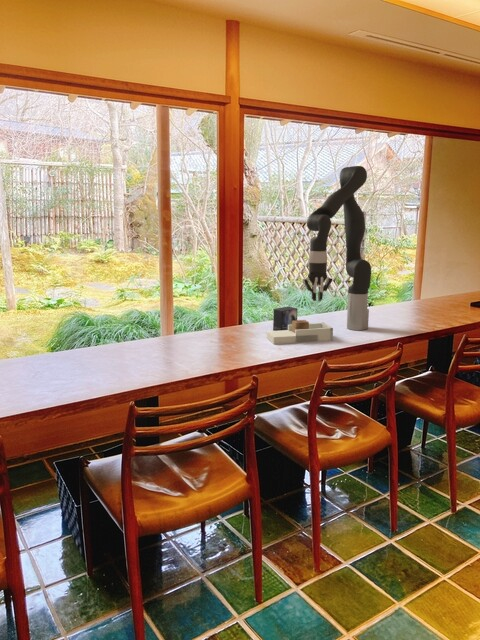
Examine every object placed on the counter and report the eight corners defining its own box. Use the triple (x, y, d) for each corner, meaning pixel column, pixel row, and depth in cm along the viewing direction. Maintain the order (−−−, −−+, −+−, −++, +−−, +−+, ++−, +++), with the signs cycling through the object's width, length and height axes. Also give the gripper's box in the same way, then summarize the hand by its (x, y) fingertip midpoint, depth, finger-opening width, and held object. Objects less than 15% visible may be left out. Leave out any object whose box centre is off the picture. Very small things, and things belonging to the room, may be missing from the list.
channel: (323, 334, 246) (323, 322, 245) (332, 340, 236) (332, 328, 234) (266, 337, 241) (266, 325, 240) (273, 344, 230) (273, 331, 229)
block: (304, 330, 241) (305, 319, 240) (308, 333, 236) (308, 322, 235) (292, 331, 239) (292, 320, 238) (295, 334, 235) (295, 322, 234)
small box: (281, 332, 250) (282, 310, 248) (272, 330, 255) (272, 308, 253) (297, 329, 257) (298, 307, 255) (288, 327, 262) (288, 305, 260)
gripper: (329, 260, 238) (328, 298, 241) (300, 260, 235) (299, 299, 238) (336, 261, 231) (334, 301, 234) (305, 262, 228) (305, 302, 231)
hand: (317, 300), depth 236 cm, fingers closed
